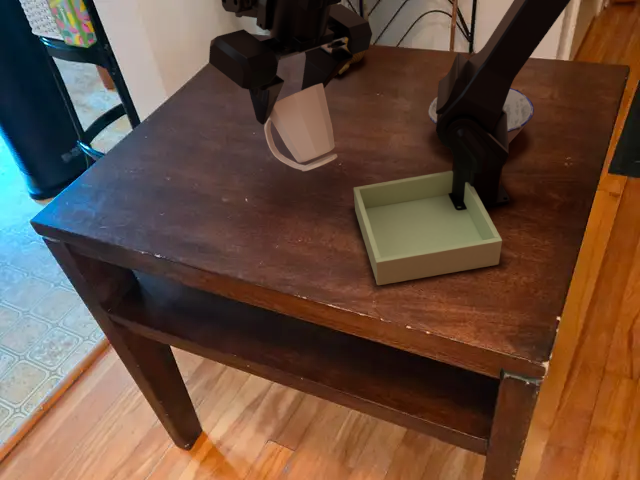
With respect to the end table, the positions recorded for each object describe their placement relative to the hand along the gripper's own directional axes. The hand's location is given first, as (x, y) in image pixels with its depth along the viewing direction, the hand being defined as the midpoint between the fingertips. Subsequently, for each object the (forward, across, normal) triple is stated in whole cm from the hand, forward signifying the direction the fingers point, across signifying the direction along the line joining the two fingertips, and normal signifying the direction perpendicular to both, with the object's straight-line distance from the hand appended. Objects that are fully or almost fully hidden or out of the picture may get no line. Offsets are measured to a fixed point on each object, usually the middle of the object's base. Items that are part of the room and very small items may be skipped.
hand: (283, 113), depth 69 cm
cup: (+4, 0, +6) cm, 7 cm away
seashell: (+10, -29, -15) cm, 35 cm away
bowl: (+3, -24, +14) cm, 28 cm away
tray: (+5, -4, +20) cm, 21 cm away
